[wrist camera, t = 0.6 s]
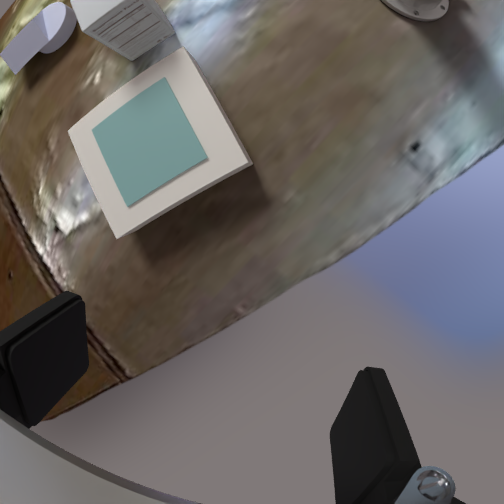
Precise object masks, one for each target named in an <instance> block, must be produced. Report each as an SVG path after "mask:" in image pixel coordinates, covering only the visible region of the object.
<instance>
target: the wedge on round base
mask: <svg viewBox="0 0 504 504" xmlns="http://www.w3.org/2000/svg"><path fill="white" fill-rule="evenodd" d="M76 22H77V17H76V15H75V12H74V10H73V9H71V8H70V7H68V6H67V5H65V4H63V3H61V2H55V3H52V4H50V5H48V6H47V7H46V8H44V9H43V10H42V11H41V12H40V13H39V14H38V15H37V16H35V17H34V18H33V19H32V20H31V21H30V22H29V23H28V24H27V25H26V26H25V27H24V28H23V29H22V30H21V31H20V32H19V33H18V35H17V36H16V37H15V38H14V39H13V40H12V41H11V42H10V43H9V44H8V45H7V46H6V48H5V49H4V50H3V51H2V52H1V53H0V55H1V57H2V58H3V59H4V61H5V62H6V63H7V65H8V66H9V67H10V69H11V70H12V71H13V73H14V74H15V75H16V74H17V73H18V72H19V71H20V69H21V68H22V67H23V66H24V65H25V64H26V63H27V62H28V61H29V60H30V59H31V58H32V57H33V56H34V55H35V54H36V53H37V52H38V51H40V52H42V53H52V52H54V51H56V50H57V49H59V48H60V47H61V46H62V45H63V44H64V43H65V42H66V41H67V40H68V39H69V37H70V36H71V34H72V32H73V30H74V28H75V26H76Z"/></svg>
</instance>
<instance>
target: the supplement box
mask: <svg viewBox="0 0 504 504" xmlns="http://www.w3.org/2000/svg"><path fill="white" fill-rule="evenodd" d="M70 1H71V4H72V7H73V9H74V12H75V15H76V17H77V20H78V22H79V25H80V27H81V29H82V32H84V33H86V34H88V35H89V36H91V37H93V38H94V39H96V40H98V41H99V42H101V43H103V44H104V45H106V46H108V47H109V48H111V49H113V50H114V51H116V52H118V53H119V54H121V55H122V56H124V57H126V58H127V59H129V60H131V61H133V60H135V59H136V58H138V57H139V56H141V55H142V54H144V53H145V52H147V51H148V50H150V49H151V48H153V47H154V46H156V45H158V44H159V43H161V42H162V41H164V40H166V39H167V38H169V37H170V36H172V35H174V34H175V31H174V29H173V28H172V26H171V24H170V23H169V21H168V19H167V18H166V16H165V14H164V13H163V11H162V10H161V8H160V7H159V5H158V4H157V3H156V2H155V0H70Z"/></svg>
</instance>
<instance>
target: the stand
mask: <svg viewBox="0 0 504 504" xmlns="http://www.w3.org/2000/svg"><path fill="white" fill-rule="evenodd" d="M68 133H69V135H70V138H71V140H72V143H73V145H74V148H75V150H76V153H77V155H78V157H79V160H80V162H81V164H82V167H83V169H84V171H85V174H86V176H87V178H88V180H89V183H90V185H91V187H92V189H93V191H94V194H95V196H96V198H97V200H98V202H99V204H100V206H101V208H102V210H103V213H104V215H105V217H106V219H107V221H108V223H109V225H110V227H111V229H112V231H113V233H114V235H115V236H116V238H117V239H118V238H120V237H123V236H125V235H128V234H130V233H132V232H135V231H137V230H138V229H140V228H141V227H143V226H145V225H146V224H148V223H150V222H151V221H153V220H155V219H156V218H158V217H159V216H161V215H163V214H165V213H166V212H168V211H170V210H171V209H173V208H175V207H176V206H178V205H180V204H182V203H183V202H185V201H187V200H188V199H190V198H192V197H194V196H195V195H197V194H199V193H201V192H203V191H204V190H206V189H208V188H210V187H212V186H213V185H215V184H217V183H219V182H221V181H222V180H224V179H226V178H228V177H230V176H232V175H234V174H235V173H237V172H239V171H241V170H243V169H245V168H247V167H249V166H251V165H253V163H252V161H251V159H250V157H249V155H248V153H247V151H246V150H245V148H244V146H243V144H242V142H241V140H240V139H239V137H238V135H237V133H236V131H235V129H234V128H233V126H232V124H231V122H230V120H229V118H228V117H227V115H226V113H225V111H224V109H223V108H222V106H221V104H220V102H219V101H218V99H217V97H216V95H215V94H214V92H213V90H212V88H211V86H210V85H209V83H208V81H207V79H206V78H205V76H204V74H203V73H202V71H201V69H200V67H199V66H198V64H197V62H196V61H195V59H194V58H193V57H192V56H191V55H190V53H189V52H188V51H187V50H186V49H185V48H184V47H181V48H180V49H178V50H176V51H175V52H173V53H171V54H170V55H168V56H166V57H165V58H163V59H162V60H160V61H158V62H157V63H155V64H154V65H152V66H151V67H149V68H148V69H146V70H145V71H143V72H142V73H140V74H139V75H137V76H136V77H135V78H133V79H132V80H130V81H129V82H128V83H126V84H125V85H123V86H122V87H121V88H119V89H118V90H117V91H115V92H114V93H113V94H111V95H110V96H109V97H108V98H106V99H105V100H104V101H102V102H101V103H100V104H99V105H97V106H96V107H95V108H94V109H93V110H91V111H90V112H89V113H88V114H87V115H85V116H84V117H83V118H82V119H81V120H80V121H78V122H77V123H76V124H75V125H74V126H73V127H72V128H70V129H69V130H68Z"/></svg>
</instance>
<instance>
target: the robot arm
mask: <svg viewBox="0 0 504 504" xmlns="http://www.w3.org/2000/svg"><path fill="white" fill-rule="evenodd" d="M381 1H382V2H383V3H385V4H386V5H387V6H388V7H390V8H391V9H393V10H394V11H396V12H398V13H400V14H401V15H403V16H406V17H408V18H411V19H414V20H418V21H426V22H428V21H435V20H438V19H440V18H441V17H442V16H443V15H444V14H445V13H446V12H447V10H448V6H449V0H381ZM88 366H89V358H88V347H87V333H86V314H85V303H84V301H82V298H81V296H80V295H77V294H74V293H72V292H69V291H65V292H63V293H61V294H59V295H58V296H56V297H54V298H53V299H51V300H50V301H48V302H46V303H45V304H43V305H41V306H40V307H38V308H36V309H35V310H33V311H32V312H30V313H28V314H27V315H25V316H24V317H22V318H21V319H19V320H17V321H16V322H14V323H13V324H11V325H10V326H8V327H6V328H5V329H3V330H2V331H0V504H201V503H197V502H193V501H189V500H186V499H182V498H179V497H176V496H172V495H169V494H166V493H163V492H160V491H157V490H154V489H151V488H148V487H145V486H143V485H140V484H137V483H134V482H132V481H129V480H127V479H124V478H122V477H120V476H117V475H115V474H112V473H110V472H108V471H106V470H103V469H101V468H99V467H97V466H95V465H93V464H91V463H89V462H86V461H85V460H82V459H80V458H79V457H76V456H75V455H73V454H71V453H69V452H67V451H65V450H63V449H62V448H60V447H58V446H56V445H54V444H53V443H51V442H49V441H48V440H46V439H44V438H42V437H41V436H39V435H38V434H36V433H34V432H33V431H31V430H30V427H31V426H35V425H37V424H38V423H39V422H40V421H41V420H42V419H43V418H44V416H45V415H46V414H47V413H48V412H49V411H50V410H51V409H52V408H53V407H54V406H55V404H56V403H57V402H58V401H59V400H60V399H61V398H62V397H63V396H64V395H65V394H66V393H67V391H68V390H69V389H70V388H71V387H72V386H73V385H74V384H75V383H76V382H77V381H78V380H79V379H80V378H81V377H82V376H83V374H84V373H85V372H86V371H87V369H88ZM330 443H331V453H332V464H333V474H334V487H335V500H336V504H466V503H464V502H462V501H460V500H458V499H457V498H455V497H454V494H455V483H454V481H453V479H452V477H451V476H450V475H449V474H448V473H447V472H446V471H444V470H443V469H441V468H438V467H434V466H426V467H421V464H420V461H419V458H418V455H417V452H416V449H415V447H414V444H413V441H412V439H411V436H410V433H409V430H408V428H407V425H406V423H405V420H404V418H403V415H402V412H401V410H400V407H399V405H398V402H397V400H396V397H395V395H394V392H393V390H392V387H391V385H390V383H389V380H388V378H387V376H386V373H385V371H384V369H381V368H373V367H366V368H365V369H364V371H362V370H360V371H359V372H358V374H357V376H356V378H355V380H354V382H353V385H352V387H351V389H350V391H349V393H348V395H347V398H346V399H345V401H344V403H343V406H342V408H341V410H340V412H339V414H338V415H337V417H336V419H335V421H334V423H333V425H332V427H331V431H330Z"/></svg>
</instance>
